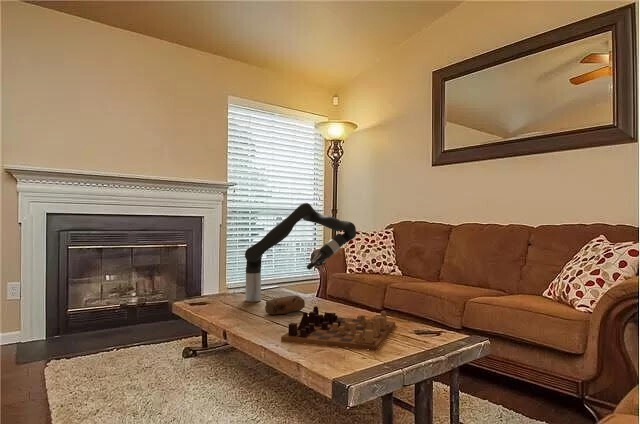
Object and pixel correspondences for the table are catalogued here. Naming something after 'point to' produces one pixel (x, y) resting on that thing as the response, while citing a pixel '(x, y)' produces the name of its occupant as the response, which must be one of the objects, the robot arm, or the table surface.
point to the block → (284, 305)
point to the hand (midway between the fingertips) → (307, 268)
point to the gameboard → (340, 330)
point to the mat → (292, 313)
